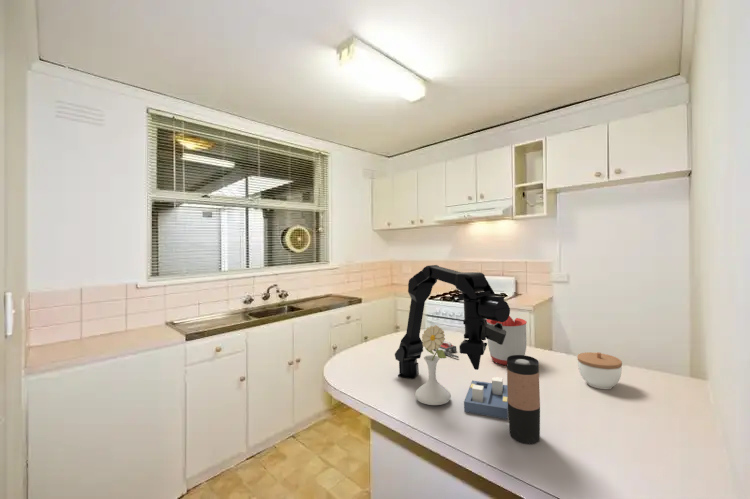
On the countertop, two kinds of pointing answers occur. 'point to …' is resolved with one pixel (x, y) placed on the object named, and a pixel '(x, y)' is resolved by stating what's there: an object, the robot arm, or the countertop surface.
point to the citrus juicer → (509, 340)
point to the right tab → (497, 386)
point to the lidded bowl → (599, 369)
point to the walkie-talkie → (448, 349)
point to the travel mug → (523, 398)
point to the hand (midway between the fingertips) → (476, 369)
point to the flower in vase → (433, 369)
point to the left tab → (478, 393)
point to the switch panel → (488, 402)
